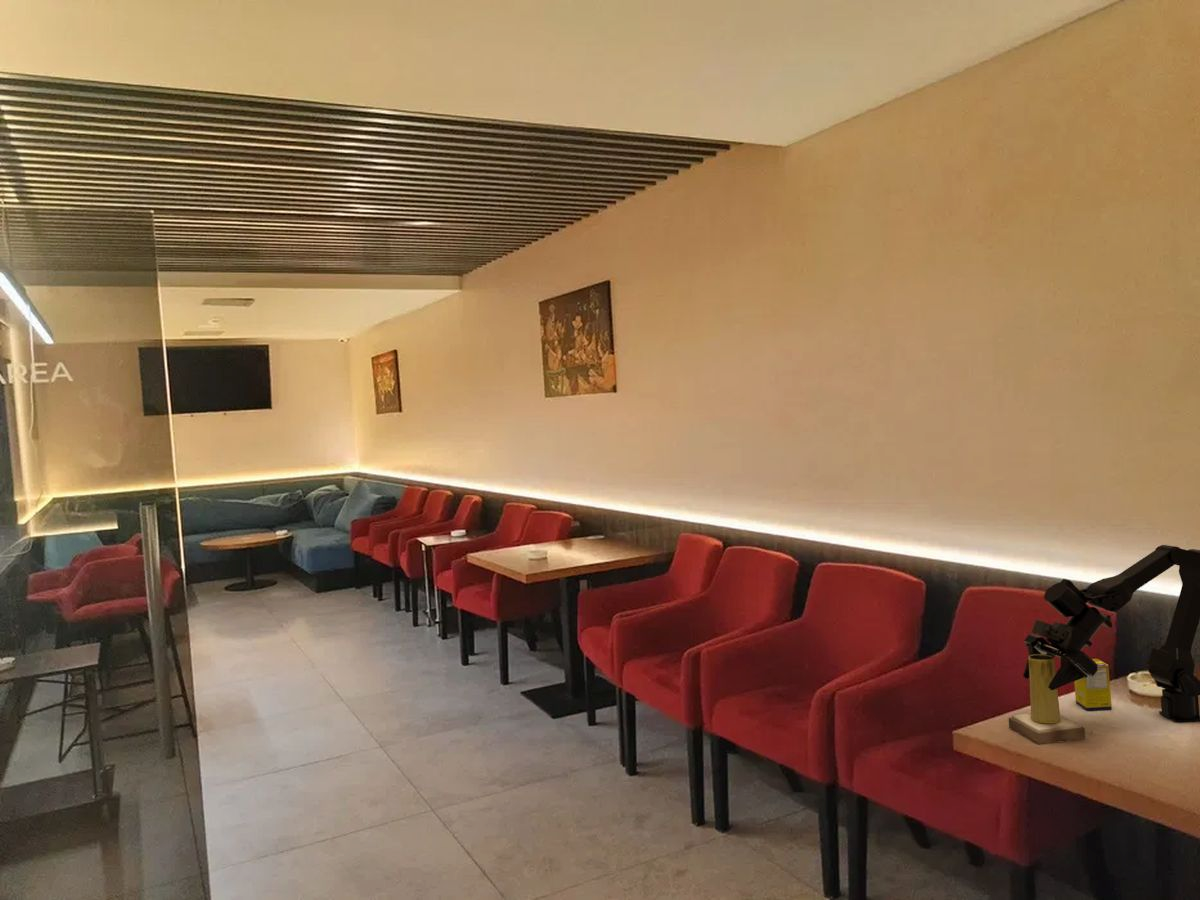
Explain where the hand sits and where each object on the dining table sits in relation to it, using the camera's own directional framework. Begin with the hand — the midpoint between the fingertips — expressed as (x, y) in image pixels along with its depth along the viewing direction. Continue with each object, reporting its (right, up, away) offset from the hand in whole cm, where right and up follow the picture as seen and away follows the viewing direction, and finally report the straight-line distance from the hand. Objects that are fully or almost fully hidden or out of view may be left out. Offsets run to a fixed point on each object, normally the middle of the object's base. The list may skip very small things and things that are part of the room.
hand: (1037, 683), depth 191 cm
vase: (+2, -9, 0) cm, 9 cm away
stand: (+2, -11, 0) cm, 12 cm away
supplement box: (+21, -10, +15) cm, 28 cm away
